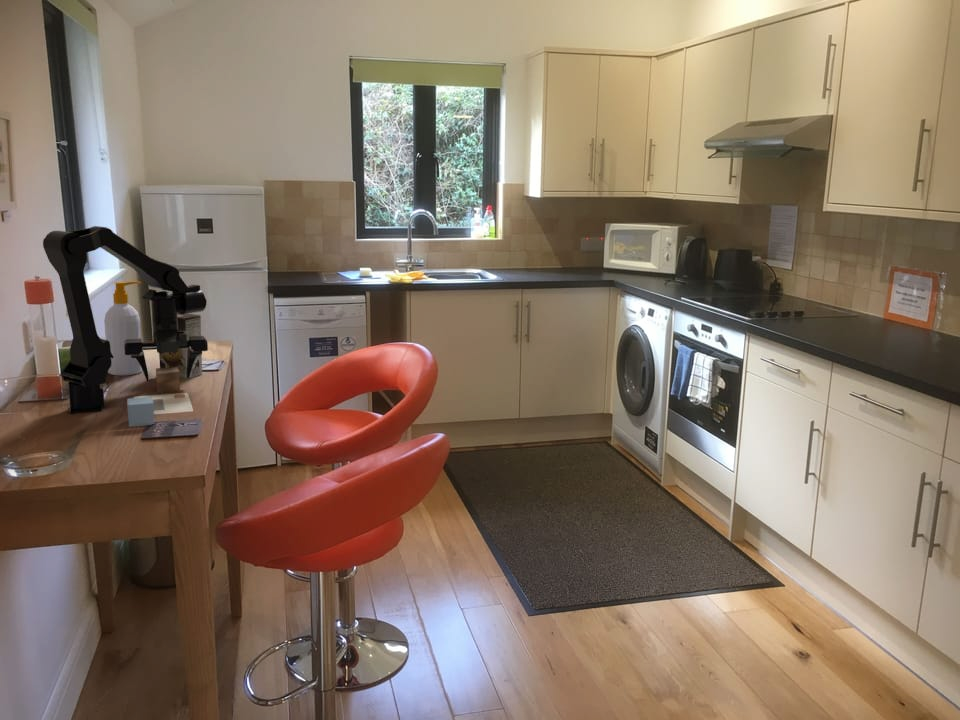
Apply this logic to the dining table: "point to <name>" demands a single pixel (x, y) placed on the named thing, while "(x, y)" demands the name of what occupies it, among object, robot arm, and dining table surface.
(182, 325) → the coffee box
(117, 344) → the soap bottle
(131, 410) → the blue cube
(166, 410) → the letter
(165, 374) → the walnut block
